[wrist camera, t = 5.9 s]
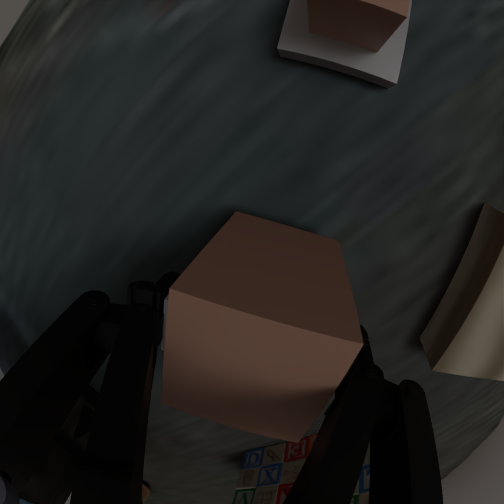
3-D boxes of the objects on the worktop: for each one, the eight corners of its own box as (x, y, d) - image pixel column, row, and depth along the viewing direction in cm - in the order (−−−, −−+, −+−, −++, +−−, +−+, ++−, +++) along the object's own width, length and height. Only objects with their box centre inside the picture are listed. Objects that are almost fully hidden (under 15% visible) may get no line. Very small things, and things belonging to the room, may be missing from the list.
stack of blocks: (272, 468, 33) (256, 542, 22) (245, 449, 32) (222, 530, 21) (425, 422, 25) (440, 513, 14) (411, 396, 24) (429, 503, 13)
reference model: (280, 56, 16) (258, 9, 8) (302, -26, 13) (293, -94, 5) (388, 88, 15) (436, 62, 8) (404, 4, 12) (445, -50, 5)
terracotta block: (217, 298, 19) (161, 403, 11) (236, 211, 17) (169, 288, 9) (306, 324, 19) (297, 442, 11) (338, 240, 16) (363, 344, 8)
